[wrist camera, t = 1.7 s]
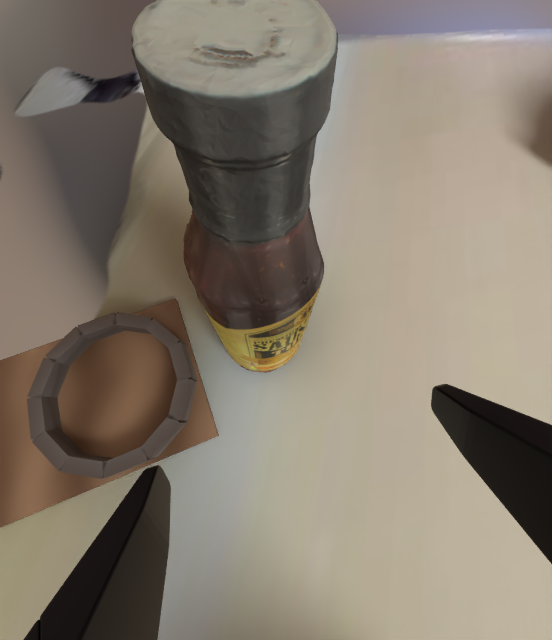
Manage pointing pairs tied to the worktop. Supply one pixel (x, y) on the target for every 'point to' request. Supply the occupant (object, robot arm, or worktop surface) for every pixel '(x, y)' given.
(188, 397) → the cup bracket
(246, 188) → the sauce bottle
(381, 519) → the worktop surface
